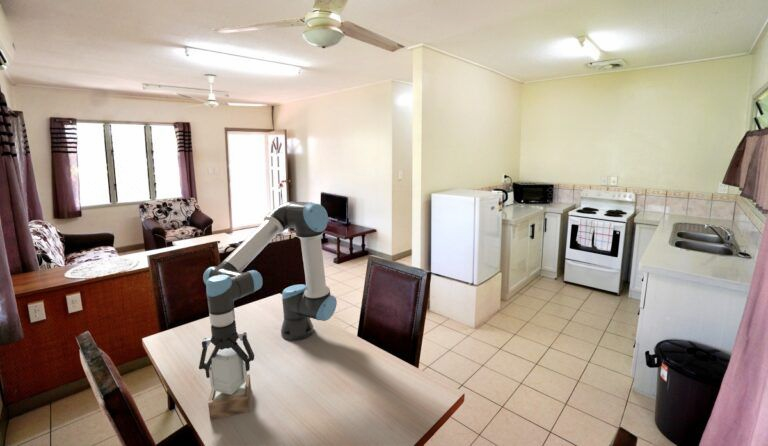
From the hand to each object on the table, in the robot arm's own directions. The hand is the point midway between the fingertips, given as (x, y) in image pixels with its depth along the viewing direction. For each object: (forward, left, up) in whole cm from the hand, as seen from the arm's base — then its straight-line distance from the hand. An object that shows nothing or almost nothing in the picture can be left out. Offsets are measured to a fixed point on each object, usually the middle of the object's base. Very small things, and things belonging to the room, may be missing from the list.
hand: (229, 382), depth 123 cm
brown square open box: (0, 0, -8) cm, 8 cm away
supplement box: (0, 0, -2) cm, 2 cm away
